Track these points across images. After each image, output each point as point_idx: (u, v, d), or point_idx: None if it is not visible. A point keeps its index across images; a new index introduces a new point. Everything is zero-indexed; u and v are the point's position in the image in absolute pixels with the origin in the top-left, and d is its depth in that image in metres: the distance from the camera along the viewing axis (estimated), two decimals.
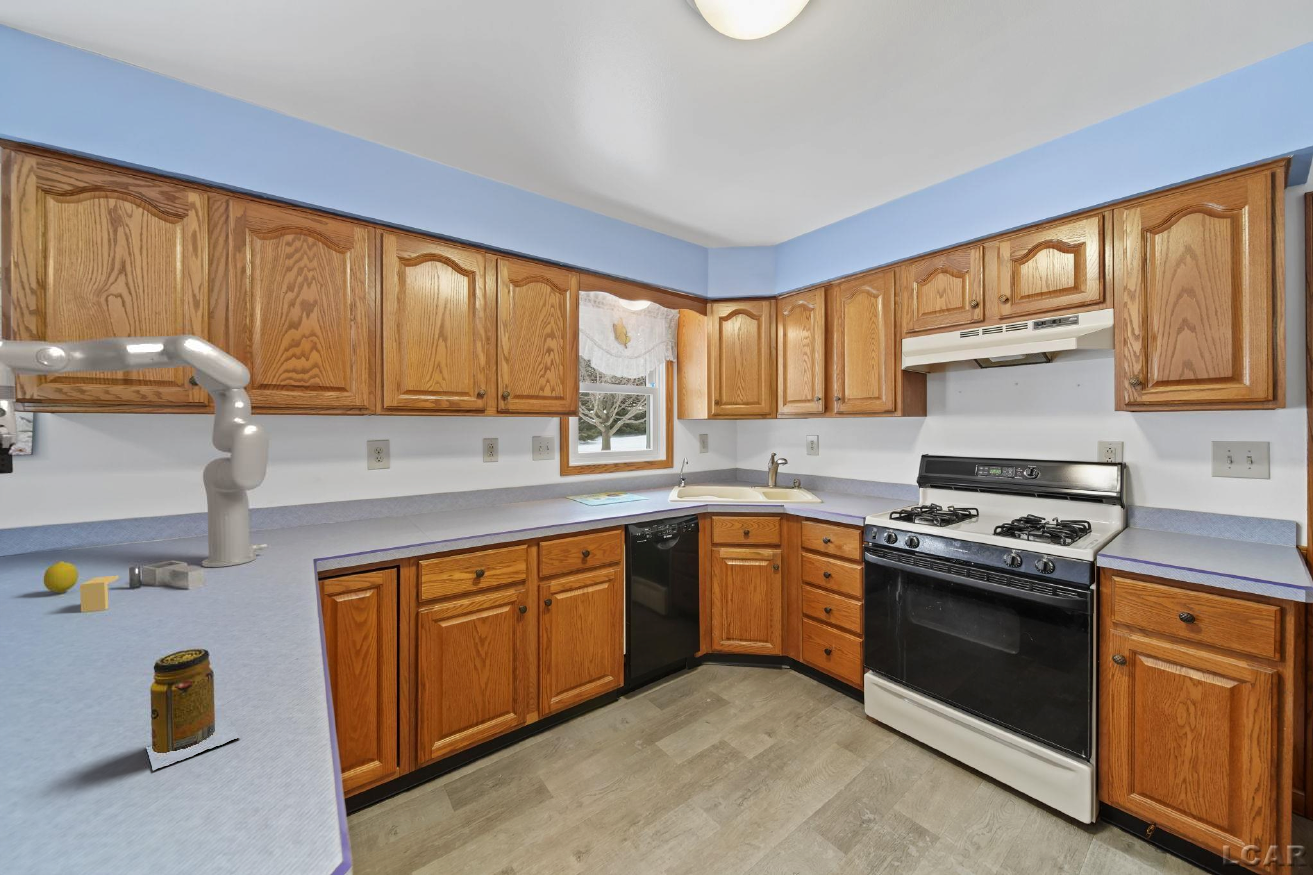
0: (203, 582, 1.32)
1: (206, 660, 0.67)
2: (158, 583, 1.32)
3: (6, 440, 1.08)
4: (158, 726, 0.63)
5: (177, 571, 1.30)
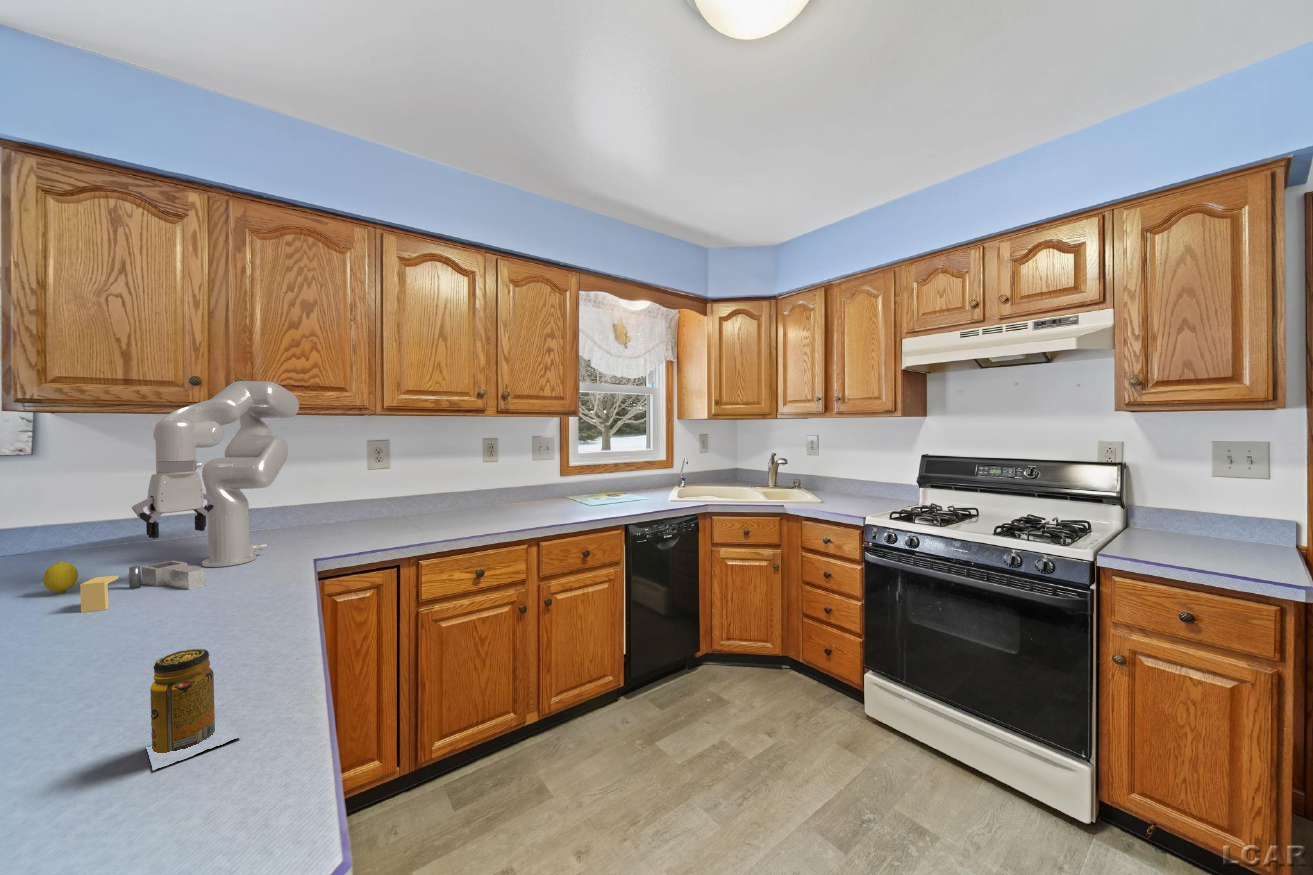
0: (203, 582, 1.32)
1: (206, 660, 0.67)
2: (158, 583, 1.32)
3: None
4: (158, 726, 0.63)
5: (177, 571, 1.30)
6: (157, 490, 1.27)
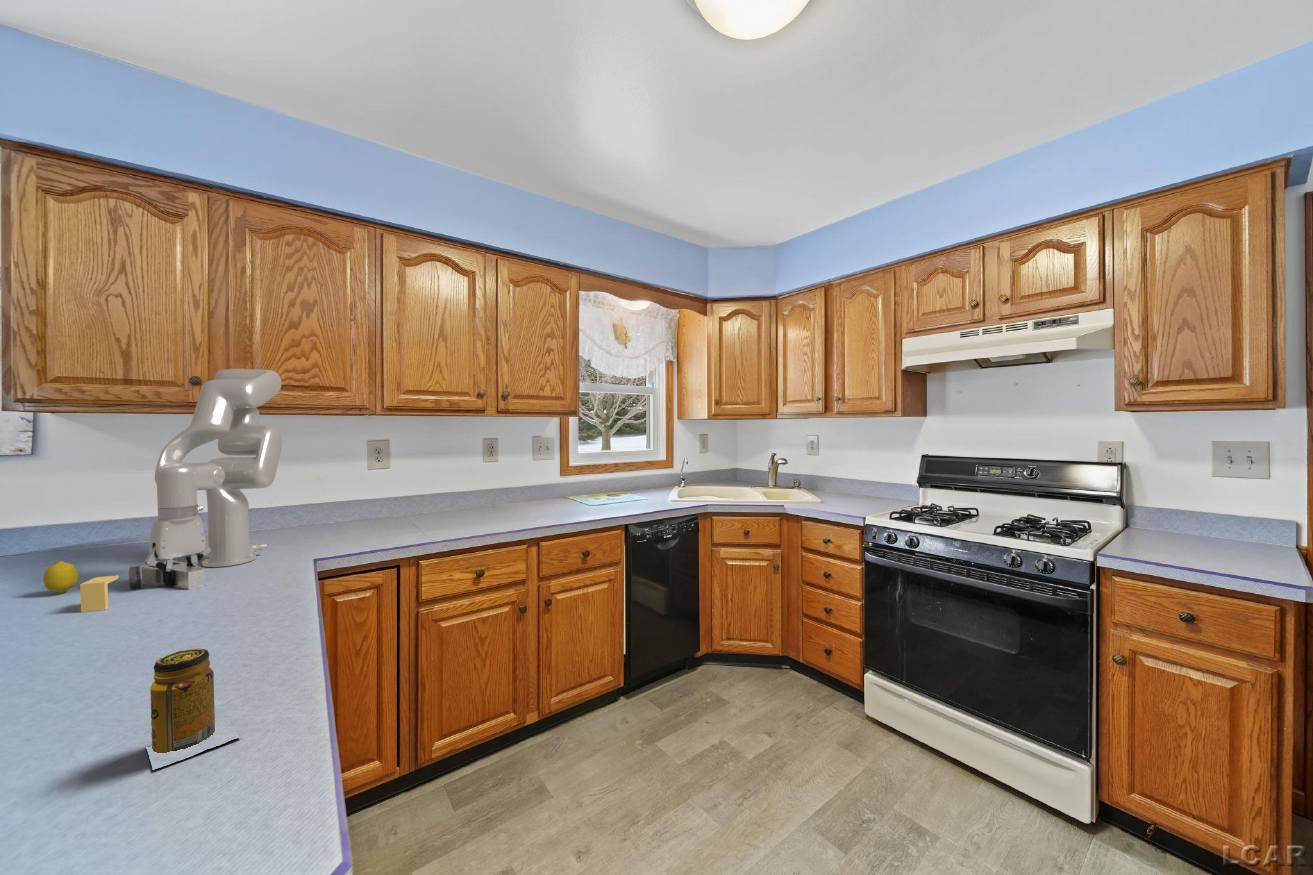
0: (203, 582, 1.32)
1: (206, 660, 0.67)
2: (158, 583, 1.32)
3: None
4: (158, 726, 0.63)
5: (177, 571, 1.30)
6: (159, 537, 1.28)
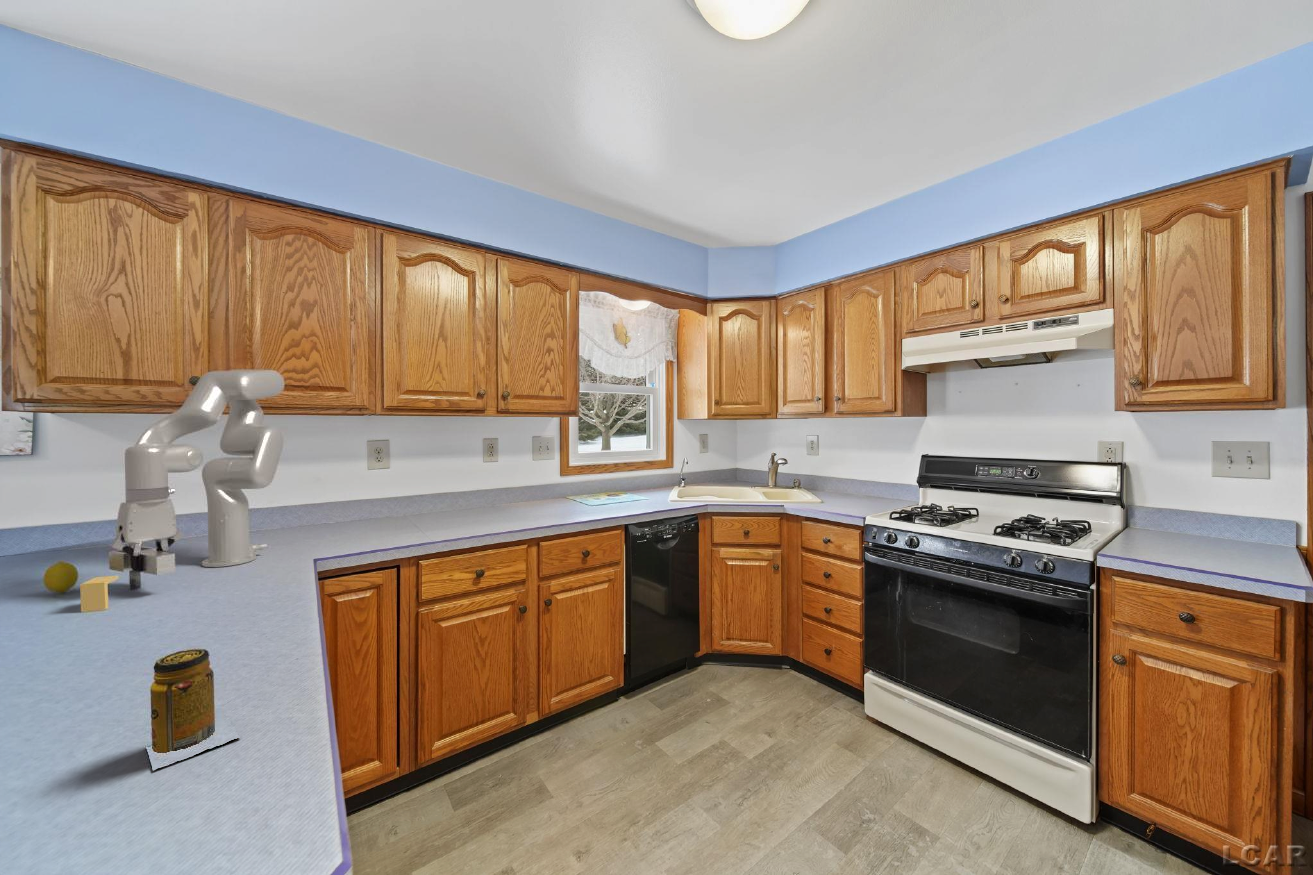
0: (173, 567, 1.26)
1: (206, 660, 0.67)
2: (126, 569, 1.26)
3: None
4: (158, 726, 0.63)
5: (145, 556, 1.25)
6: (126, 519, 1.22)
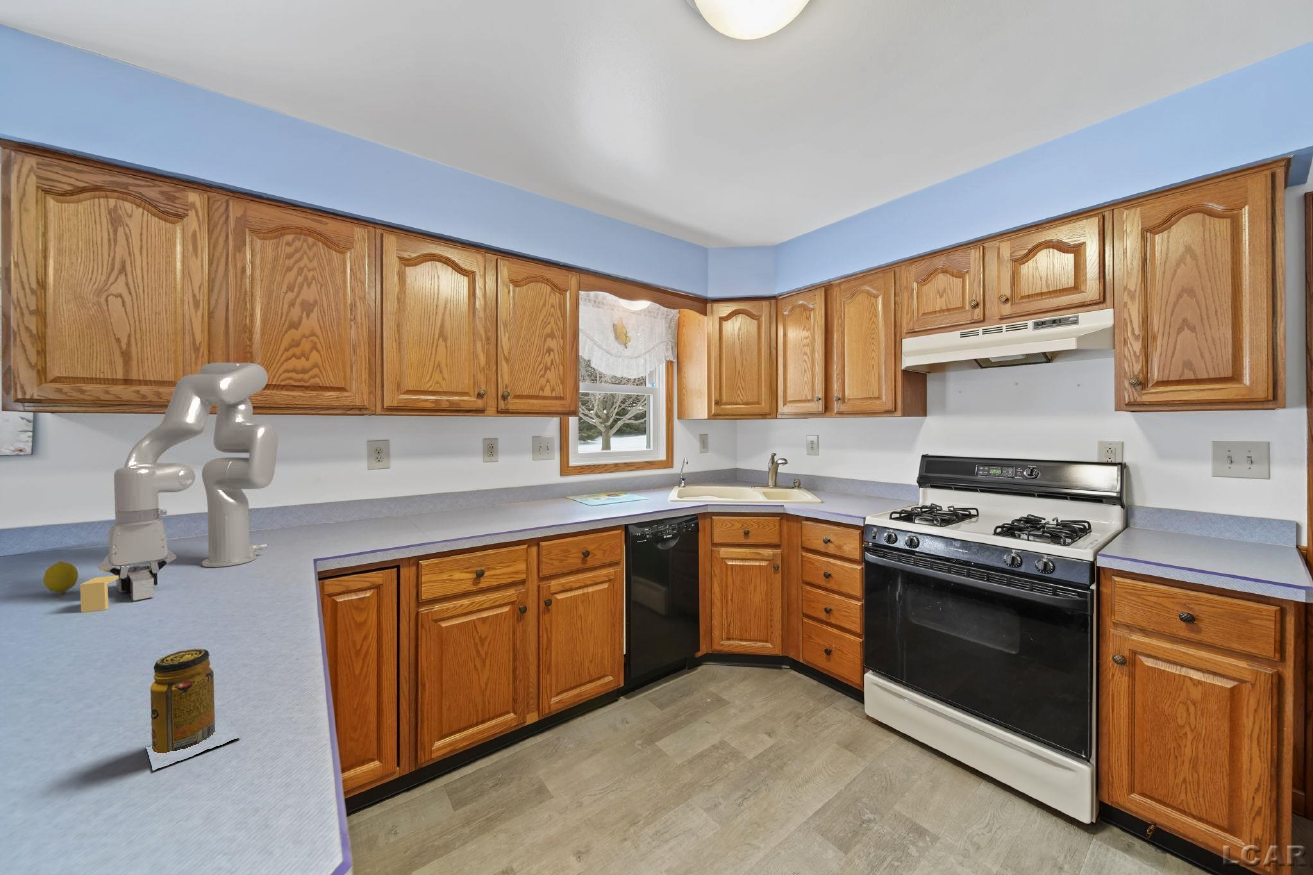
0: (151, 593, 1.22)
1: (206, 660, 0.67)
2: None
3: None
4: (158, 726, 0.63)
5: (130, 579, 1.23)
6: (111, 542, 1.21)
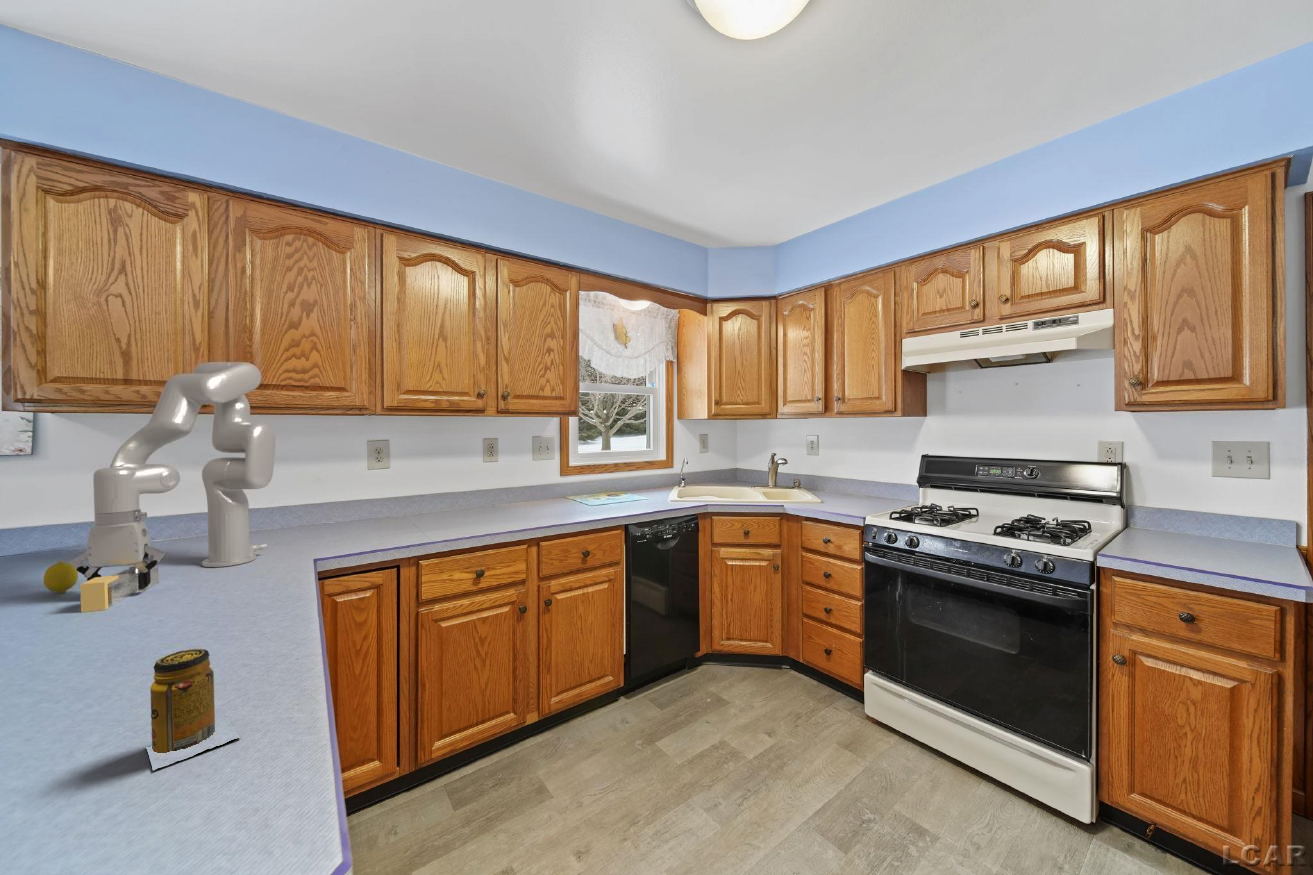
0: (109, 601, 1.18)
1: (206, 660, 0.67)
2: None
3: (161, 557, 1.27)
4: (158, 726, 0.63)
5: None
6: (88, 543, 1.20)
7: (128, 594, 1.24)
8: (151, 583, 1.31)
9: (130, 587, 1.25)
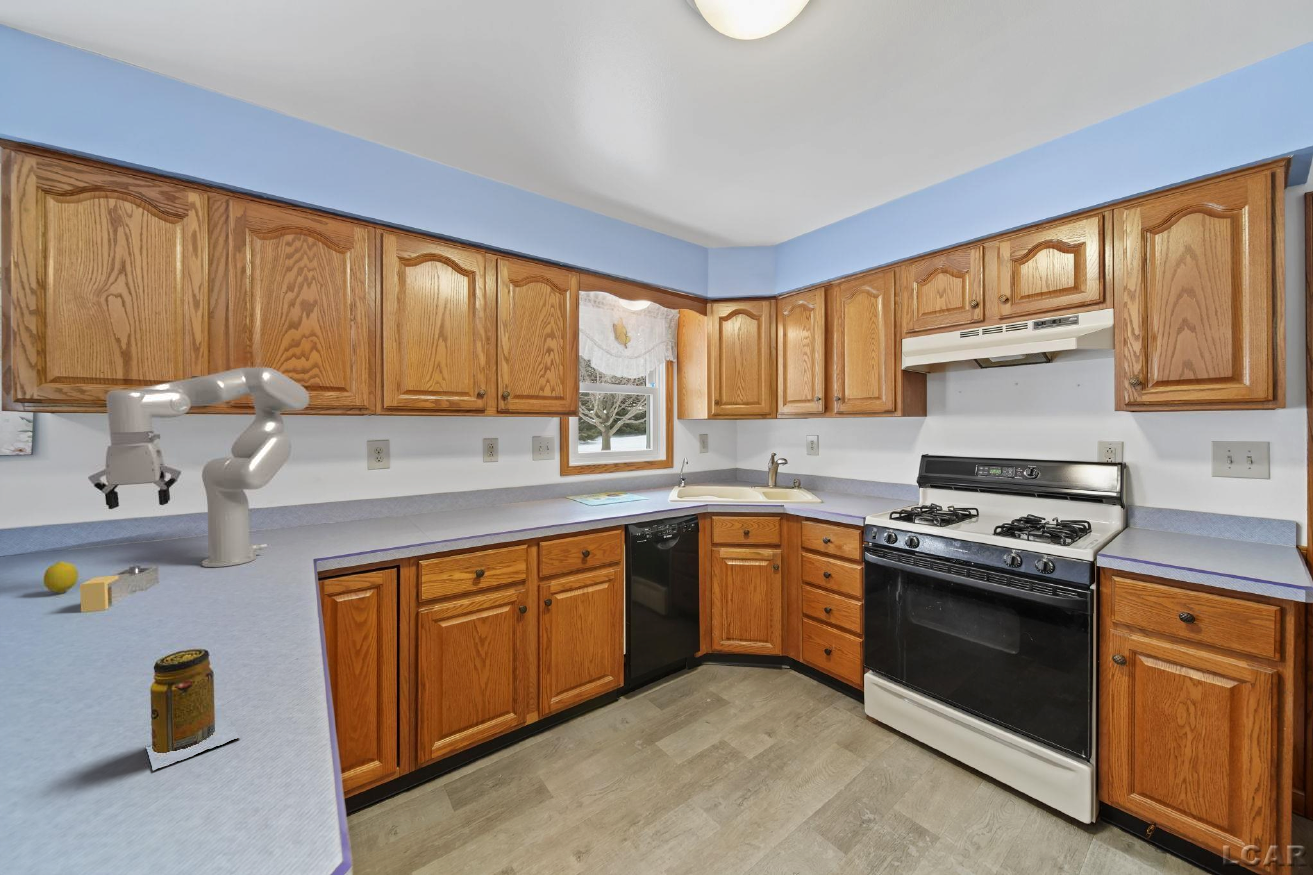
0: (109, 601, 1.18)
1: (206, 660, 0.67)
2: None
3: (178, 475, 1.33)
4: (158, 726, 0.63)
5: None
6: (106, 461, 1.26)
7: (128, 594, 1.24)
8: (151, 583, 1.31)
9: (130, 587, 1.25)
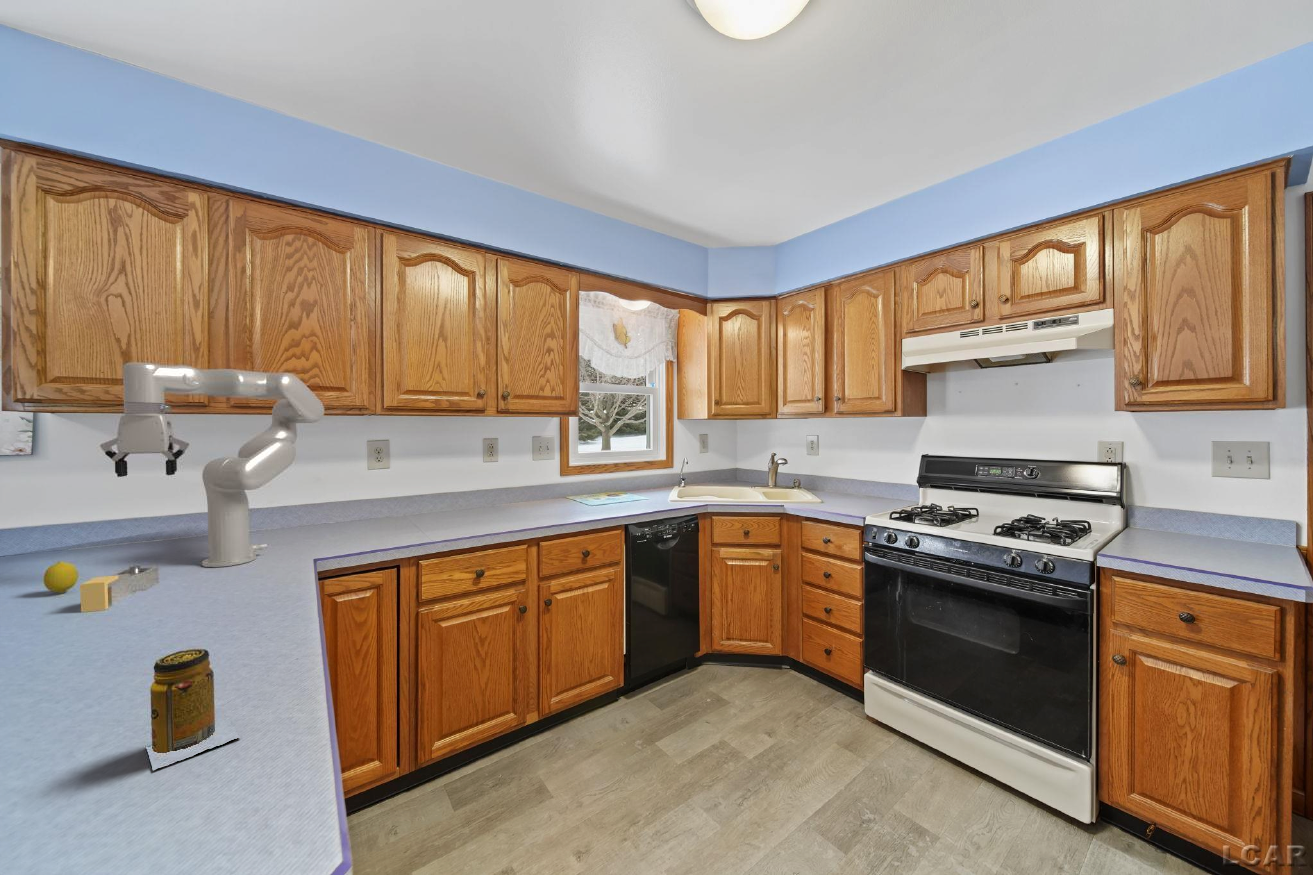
0: (109, 601, 1.18)
1: (206, 660, 0.67)
2: None
3: (186, 447, 1.37)
4: (158, 726, 0.63)
5: None
6: (118, 430, 1.30)
7: (128, 594, 1.24)
8: (151, 583, 1.31)
9: (130, 587, 1.25)
